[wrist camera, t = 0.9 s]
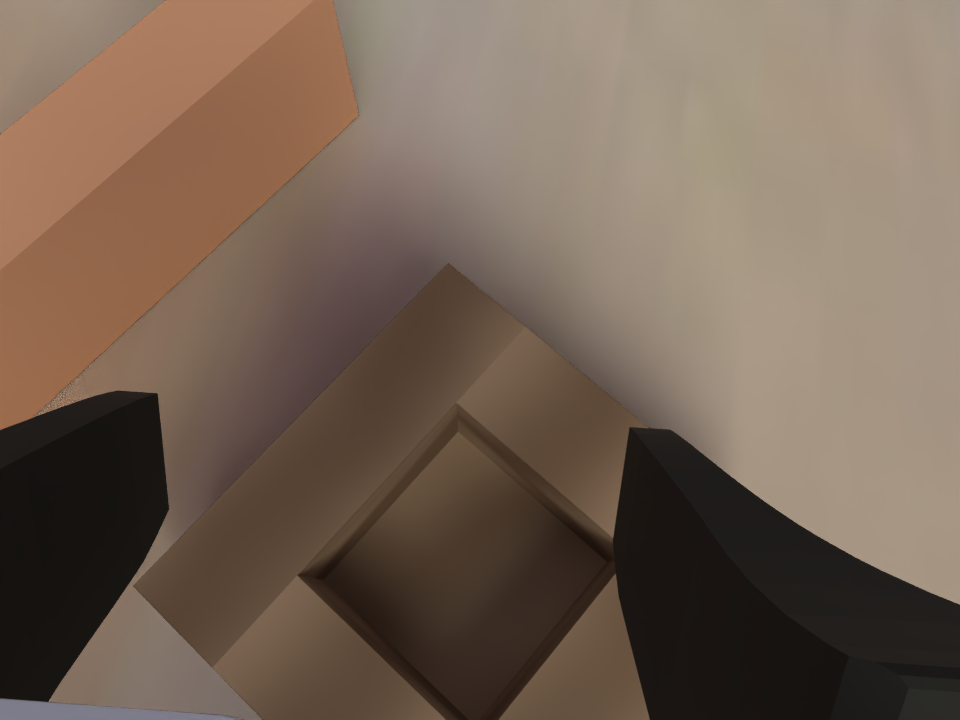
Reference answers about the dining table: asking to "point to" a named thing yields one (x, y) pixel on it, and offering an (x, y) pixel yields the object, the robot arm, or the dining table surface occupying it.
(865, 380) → the dining table surface
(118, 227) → the block
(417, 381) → the pocket block
